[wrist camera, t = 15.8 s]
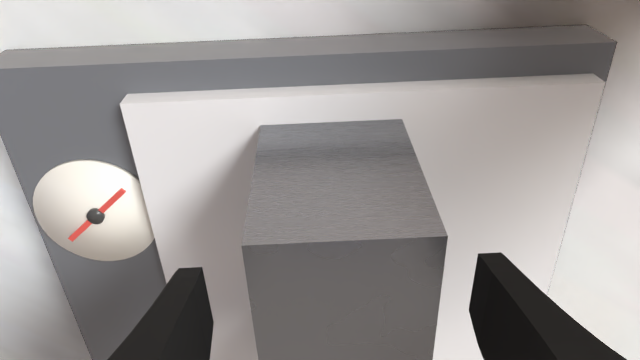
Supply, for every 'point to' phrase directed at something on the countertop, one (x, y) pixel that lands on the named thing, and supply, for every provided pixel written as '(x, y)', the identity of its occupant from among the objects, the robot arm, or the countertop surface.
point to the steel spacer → (342, 244)
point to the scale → (290, 108)
